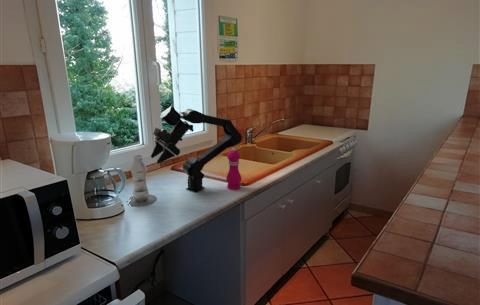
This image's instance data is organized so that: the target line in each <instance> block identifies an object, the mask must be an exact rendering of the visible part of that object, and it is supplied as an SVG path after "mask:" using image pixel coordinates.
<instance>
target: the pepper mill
mask: <svg viewBox="0 0 480 305" xmlns="http://www.w3.org/2000/svg"><path fill="white" fill-rule="evenodd" d="M240 159H241V154H240V152H239V151H237V149H236V148H235V147H231V150H230V151H229V152H228V153H227V160H228V165H229V169H228V172H227V175H226V178H225V179H226V182H227V186H226V187H227V189H228V190H232V191H236V190H240V189H241V182H242V176H241V173H240V170H239V164H240Z"/></svg>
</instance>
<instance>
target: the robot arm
mask: <svg viewBox="0 0 480 305" xmlns="http://www.w3.org/2000/svg"><path fill="white" fill-rule="evenodd" d="M159 117H160V118H161V120H163V121H164V122H165V123H166V124H167V125H168V126H170V127H172V126H173V127H172V128H171V129H166V128H162V129H161V128H159V127H155V128H154V131H153V133H152V134H153V135H154V136H155V138H154V143H155V146H154V147H153V150H152V152H151V154H150V158H152V159H154V158H155V157H156V156H158V155H160V156H159V157H158V159H157V161H156V163H157V164H158V165H159V164H161V163H163V162H165V161H167V160H169V159H172V158H174V157H176V156H177V157H178V156H179V155H180V154H181V149H180V148H179V147H177V144H178V143H179V141H180V142H182V141H183V138H184V137H185V135H186V133H187V132H188V131H191V132H194V130H195V129H194V125H193V124H208V125H213V126H217V127H218V126H219V127H222V130H223V133H224V135H223V136H222V138H221V140H220V141H218V142H217V143H216V144H214V145H213V146H211V147H210V148H209V149H208V150H206V151H204V152H203V153H202V154H201V155H200V156H198V157H194V156H190V157H189V158H188V159H187V160H184V163H183V164H182V170H183V172H184V173H185V174H186V175H187V187H186V188H185V190H186V191H190V192H193V193H198V192H200V191H202V190H205V189H206V188H205V186H203V179H204V176H205V173H203V171H202V170H203V169H204V167H205V165H206V164H208V163H209V162H210V161H212V160H213V159H214V158H216V157H217V156H219V155H220V154H222V152H224V151H225V150H226V149H228V148H234V147H235V146H237V145H239V144H240V143H241V142H242V139H243V136H242V134H241V133H240V132H239V130H238V129H237V127H235V125H234V124H233V122H232V120H231V119H228V118H222V117H218V116H213V115H208V114H205V113H203V112H200V111H198V110H194V109H192V108H187V109H185V111H183V112H182V111H181V112H178V111H177V110H176V109H175V108H174V107H173V106H171V105H170V106H169V107H168V108H166V109H164V110H163V111H162V113H161V114H160V115H159ZM183 120H184V121H183ZM189 123H191V124H189Z"/></svg>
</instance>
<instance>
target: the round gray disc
mask: <svg viewBox="0 0 480 305" xmlns="http://www.w3.org/2000/svg"><path fill="white" fill-rule="evenodd" d="M129 198H130V199H131V201H130V202H129V204H130V205H131V206H130V207H133V206H135V207H137V208H141V207H140V206H142V207H147V206H149V205H152V204H154V203H155V202H156V201H157V200H158V199H157V198H158V197H157V196H156V195H153V194H150V193H149V197H148V199H147V200H145V201H136V200H135V199H134V197H133V195H132V196H130V197H129ZM130 199H129V200H130ZM127 202H128V201H127ZM129 204H128V205H127V206H129Z"/></svg>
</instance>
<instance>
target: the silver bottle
mask: <svg viewBox="0 0 480 305" xmlns="http://www.w3.org/2000/svg"><path fill="white" fill-rule="evenodd" d="M132 158H133V160H132V161H133V163H132V164H131V166H130V172H131V176H132V181H133V193H132V196H133V197H134V199H135V200H136V201H145V200H147V199H148V197H149V194H150V193H149V189H148V184H147V183H148V182H147V165H146V164H145V163H144V161H143V160H144V158H143V155H142V154H138V155H137V154H135V155H134V156H132Z"/></svg>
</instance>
